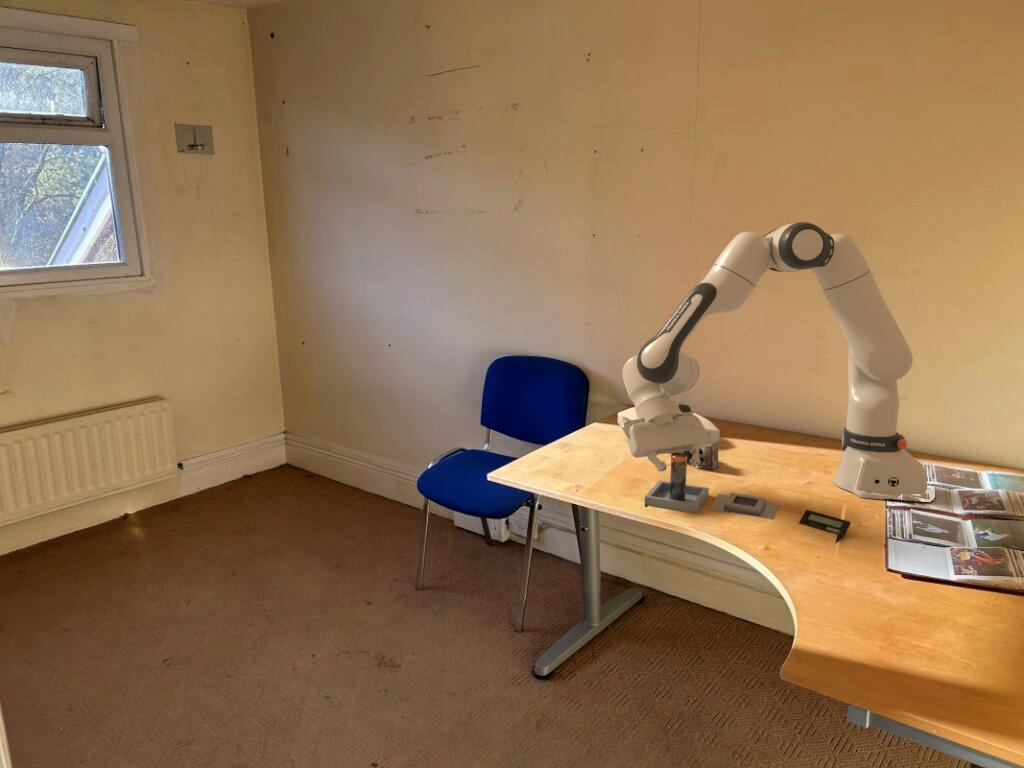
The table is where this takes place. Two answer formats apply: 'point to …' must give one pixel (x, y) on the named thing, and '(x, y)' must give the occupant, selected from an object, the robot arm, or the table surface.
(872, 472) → the robot arm
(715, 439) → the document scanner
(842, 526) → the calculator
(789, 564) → the table surface
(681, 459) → the pin
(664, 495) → the tray
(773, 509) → the collar plate
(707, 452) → the caster wheel
